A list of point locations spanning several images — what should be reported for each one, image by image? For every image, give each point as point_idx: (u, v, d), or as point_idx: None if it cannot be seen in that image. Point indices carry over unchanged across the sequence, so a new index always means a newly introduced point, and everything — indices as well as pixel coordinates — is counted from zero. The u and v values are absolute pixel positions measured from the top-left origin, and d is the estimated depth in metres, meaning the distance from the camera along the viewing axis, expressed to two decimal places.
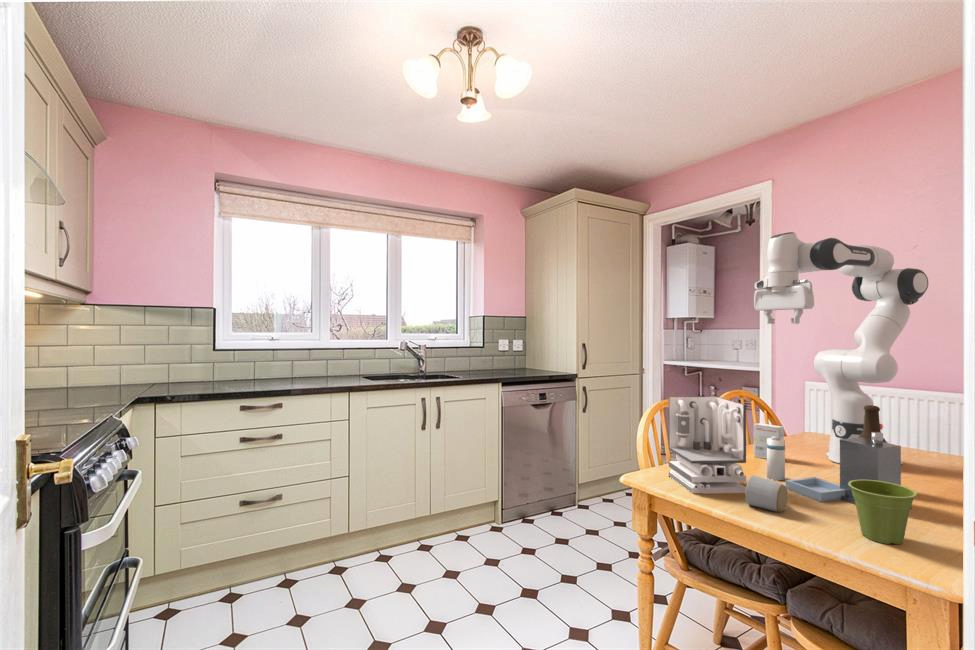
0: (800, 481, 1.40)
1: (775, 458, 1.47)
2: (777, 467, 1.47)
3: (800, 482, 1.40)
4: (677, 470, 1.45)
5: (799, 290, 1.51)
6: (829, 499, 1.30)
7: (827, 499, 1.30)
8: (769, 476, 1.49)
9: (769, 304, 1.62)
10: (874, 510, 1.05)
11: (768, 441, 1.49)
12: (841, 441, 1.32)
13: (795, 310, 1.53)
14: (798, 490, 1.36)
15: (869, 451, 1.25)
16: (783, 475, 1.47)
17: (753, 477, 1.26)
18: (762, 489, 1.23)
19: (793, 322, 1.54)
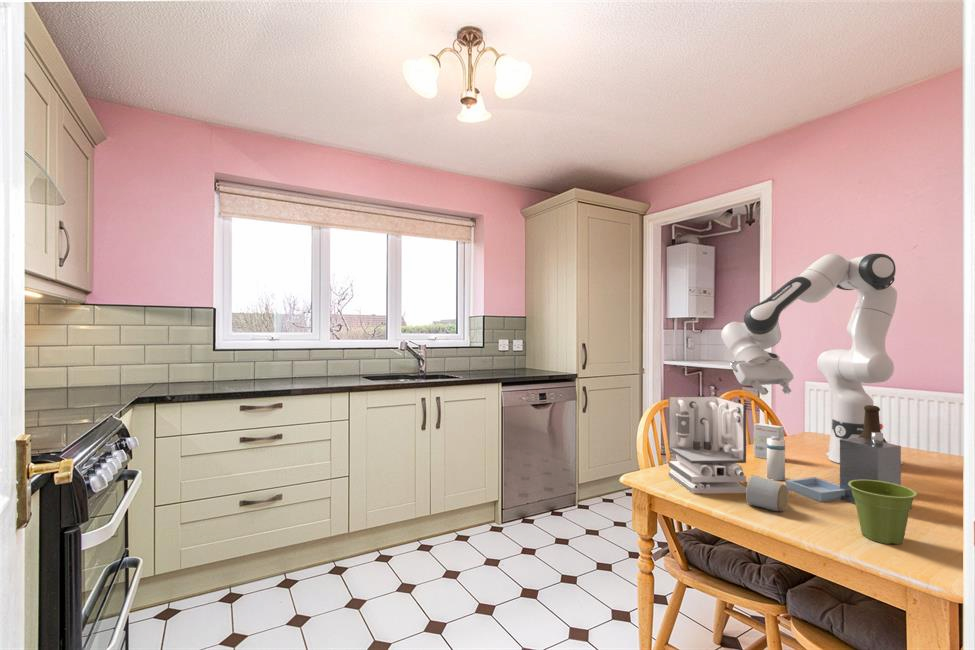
0: (800, 481, 1.40)
1: (775, 458, 1.47)
2: (777, 467, 1.47)
3: (800, 482, 1.40)
4: (677, 470, 1.45)
5: None
6: (829, 499, 1.30)
7: (827, 499, 1.30)
8: (769, 476, 1.49)
9: None
10: (874, 510, 1.05)
11: (768, 441, 1.49)
12: (841, 441, 1.32)
13: None
14: (798, 490, 1.36)
15: (869, 451, 1.25)
16: (783, 475, 1.47)
17: (754, 477, 1.27)
18: (763, 488, 1.23)
19: None
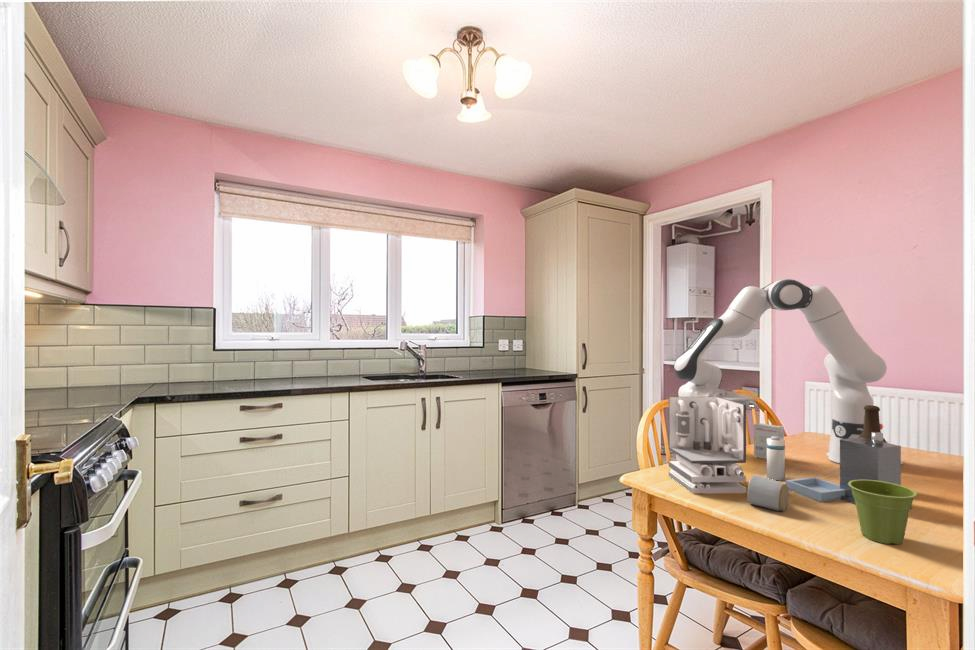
0: (800, 481, 1.40)
1: (775, 458, 1.47)
2: (777, 467, 1.47)
3: (800, 482, 1.40)
4: (677, 470, 1.45)
5: None
6: (829, 499, 1.30)
7: (827, 499, 1.30)
8: (769, 476, 1.49)
9: None
10: (874, 510, 1.05)
11: (768, 441, 1.49)
12: (841, 441, 1.32)
13: None
14: (798, 490, 1.36)
15: (869, 451, 1.25)
16: (783, 475, 1.47)
17: (755, 476, 1.27)
18: (764, 488, 1.23)
19: None
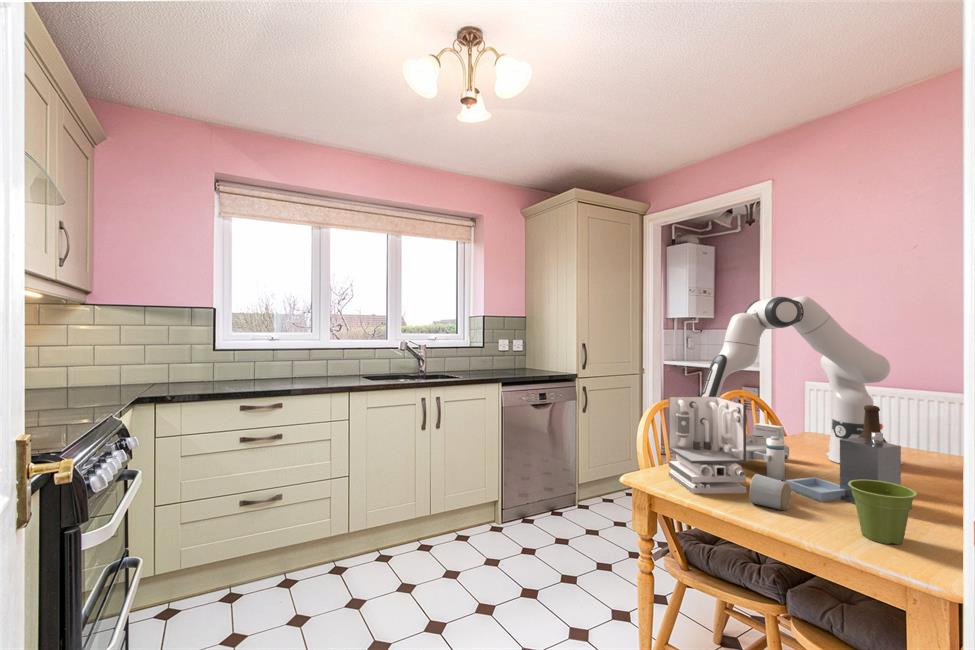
0: (800, 481, 1.40)
1: (774, 458, 1.47)
2: (777, 467, 1.47)
3: (800, 482, 1.40)
4: (677, 470, 1.45)
5: None
6: (829, 499, 1.30)
7: (827, 499, 1.30)
8: (769, 476, 1.49)
9: None
10: (874, 510, 1.05)
11: (767, 441, 1.49)
12: (841, 441, 1.32)
13: None
14: (798, 490, 1.36)
15: (869, 451, 1.25)
16: (783, 475, 1.47)
17: (757, 476, 1.28)
18: (766, 487, 1.24)
19: (768, 460, 1.48)
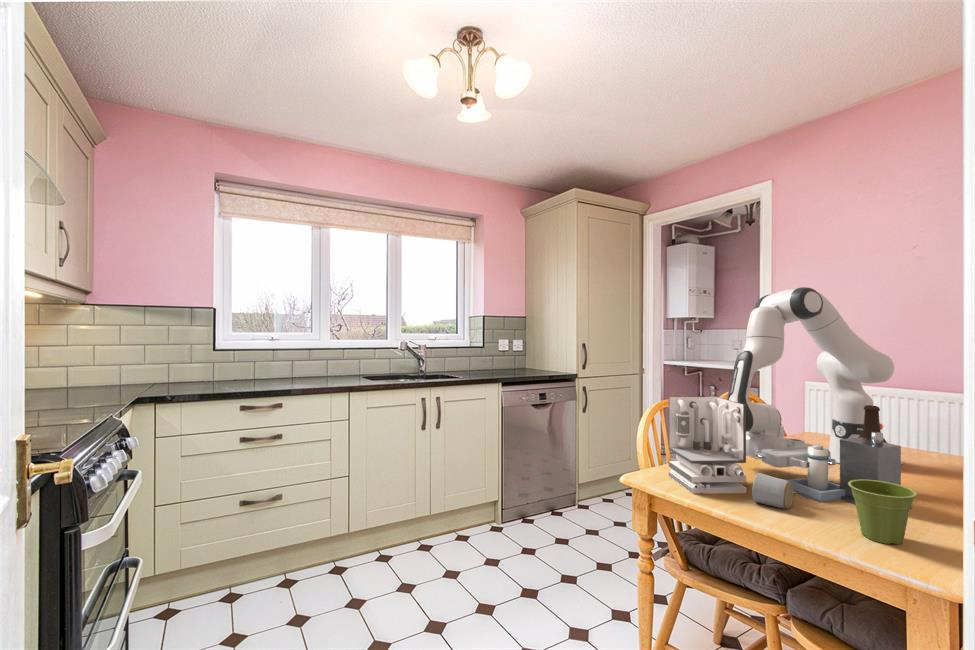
0: (800, 481, 1.40)
1: (817, 470, 1.34)
2: (820, 479, 1.34)
3: (800, 482, 1.40)
4: (677, 470, 1.45)
5: None
6: (829, 499, 1.30)
7: (827, 499, 1.30)
8: None
9: None
10: (874, 510, 1.05)
11: (810, 450, 1.35)
12: (841, 441, 1.32)
13: None
14: (798, 490, 1.36)
15: (869, 451, 1.25)
16: (826, 488, 1.34)
17: (759, 475, 1.28)
18: (769, 486, 1.25)
19: (806, 467, 1.34)
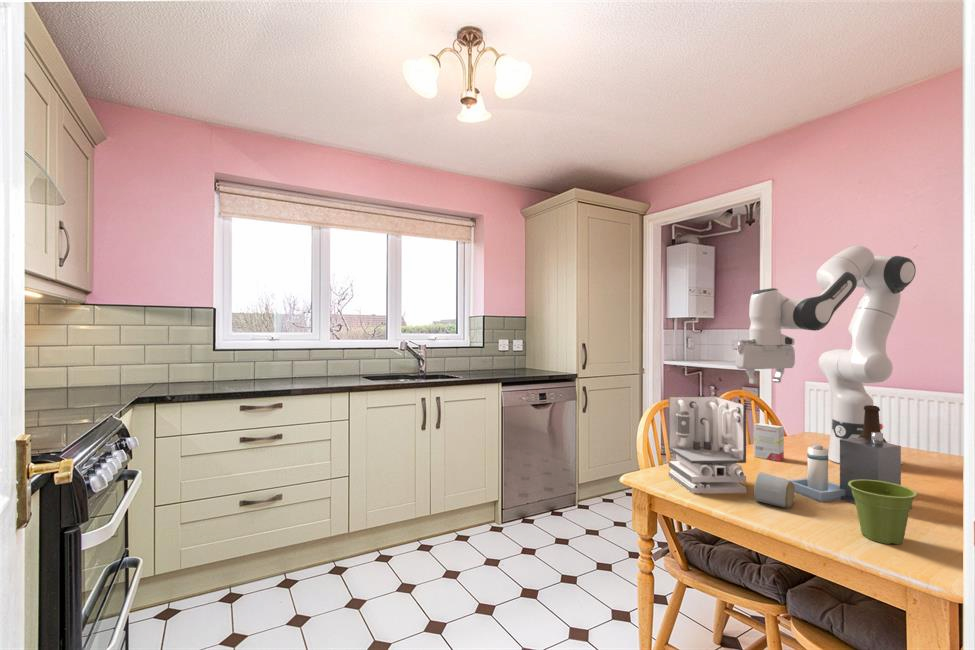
0: (800, 481, 1.40)
1: (817, 469, 1.34)
2: (820, 479, 1.34)
3: (800, 482, 1.40)
4: (677, 470, 1.45)
5: None
6: (829, 499, 1.30)
7: (827, 499, 1.30)
8: None
9: None
10: (874, 510, 1.05)
11: (809, 450, 1.36)
12: (841, 441, 1.32)
13: None
14: (798, 490, 1.36)
15: (869, 451, 1.25)
16: (826, 488, 1.34)
17: (761, 474, 1.29)
18: (771, 485, 1.25)
19: None
